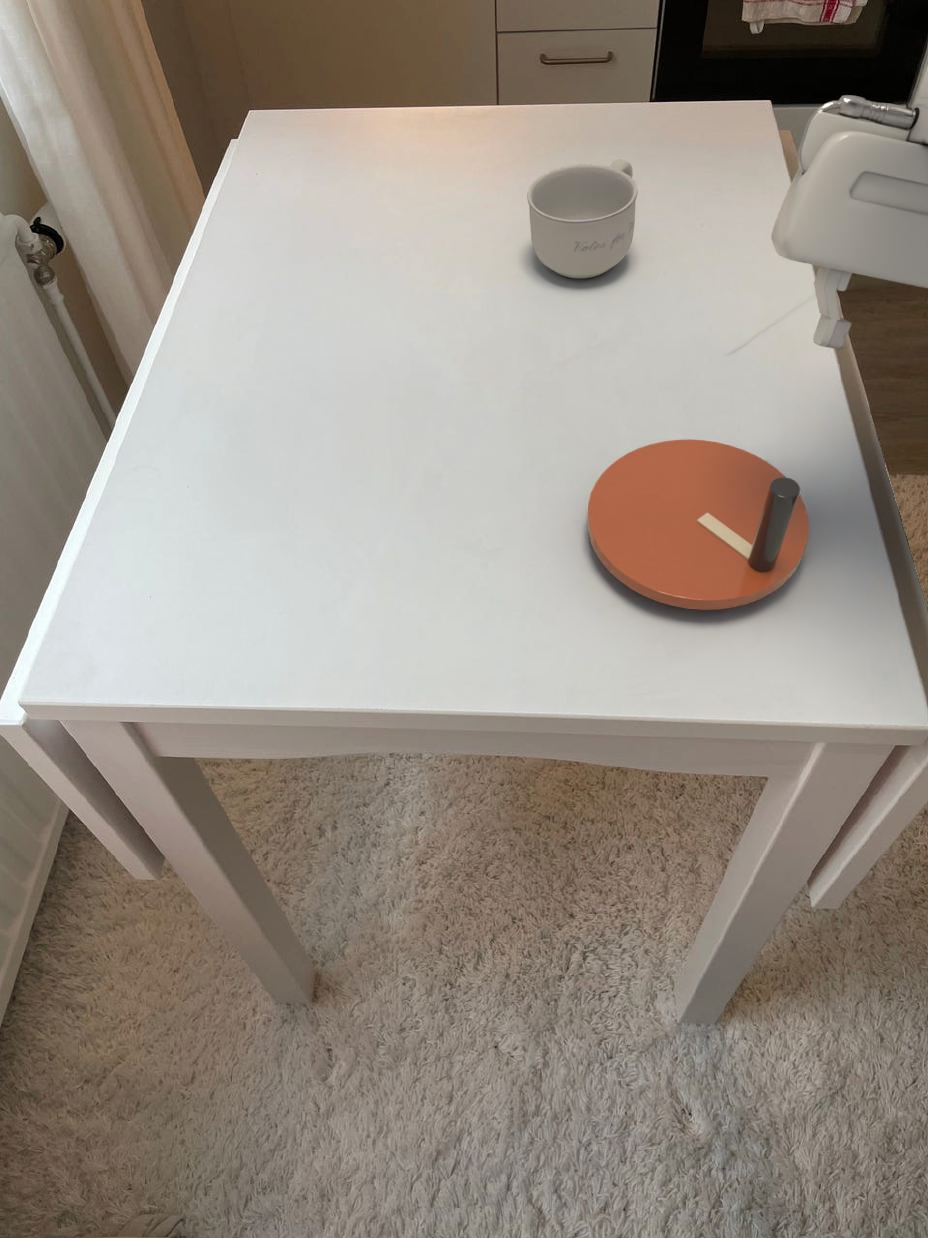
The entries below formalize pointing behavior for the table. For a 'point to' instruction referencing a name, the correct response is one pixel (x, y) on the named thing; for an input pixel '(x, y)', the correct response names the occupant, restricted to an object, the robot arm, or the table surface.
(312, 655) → the table surface
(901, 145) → the robot arm
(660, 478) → the orange turntable with peg
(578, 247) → the teacup
